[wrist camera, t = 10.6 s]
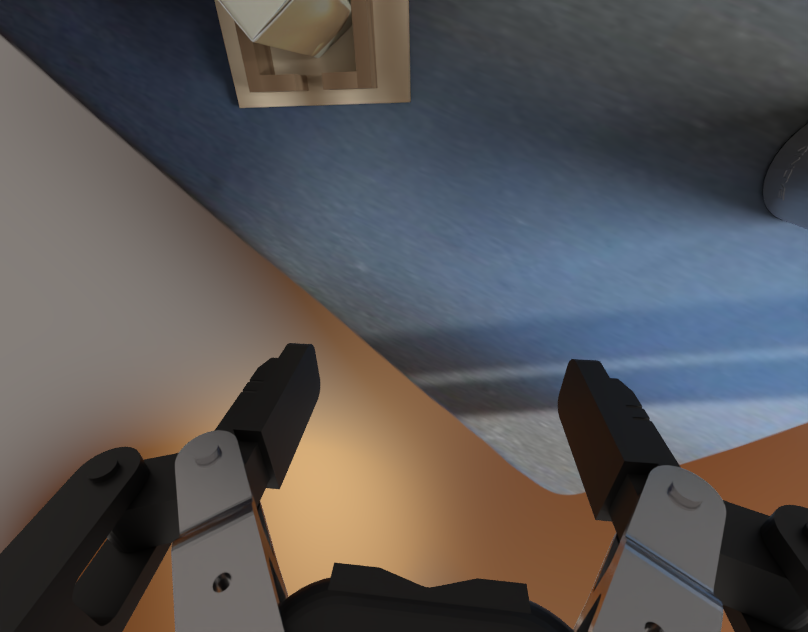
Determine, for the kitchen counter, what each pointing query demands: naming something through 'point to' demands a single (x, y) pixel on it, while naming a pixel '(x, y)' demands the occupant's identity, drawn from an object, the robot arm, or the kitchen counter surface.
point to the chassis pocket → (327, 62)
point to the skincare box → (292, 22)
